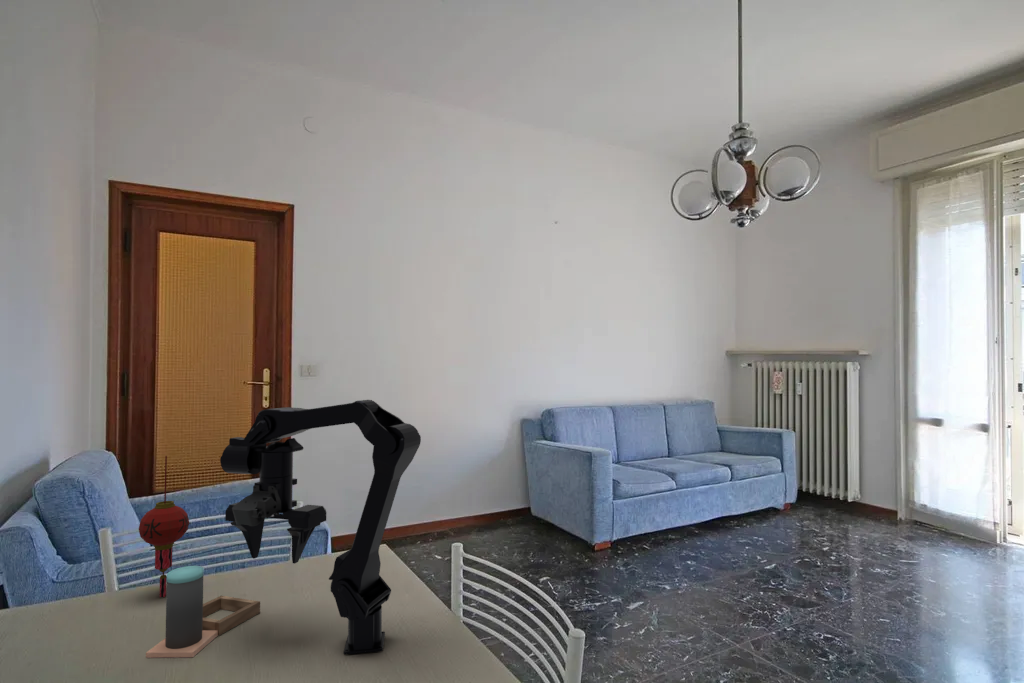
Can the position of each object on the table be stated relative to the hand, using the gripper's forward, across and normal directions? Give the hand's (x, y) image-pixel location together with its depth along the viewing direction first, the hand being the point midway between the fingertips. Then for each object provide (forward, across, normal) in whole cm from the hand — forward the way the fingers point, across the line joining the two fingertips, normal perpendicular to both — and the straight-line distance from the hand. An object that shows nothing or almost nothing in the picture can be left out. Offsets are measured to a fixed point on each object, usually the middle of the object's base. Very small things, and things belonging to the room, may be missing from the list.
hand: (274, 560), depth 103 cm
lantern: (+13, -35, +6) cm, 38 cm away
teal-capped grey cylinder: (+12, -12, -9) cm, 19 cm away
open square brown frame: (+13, -14, +1) cm, 19 cm away
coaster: (+13, -12, -9) cm, 20 cm away
